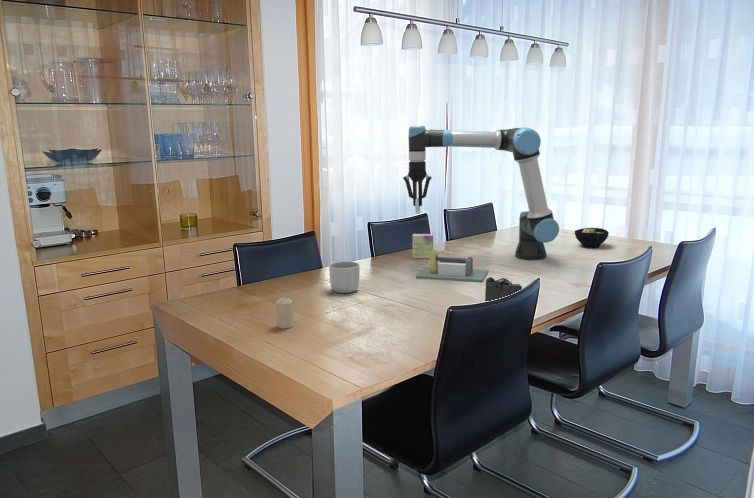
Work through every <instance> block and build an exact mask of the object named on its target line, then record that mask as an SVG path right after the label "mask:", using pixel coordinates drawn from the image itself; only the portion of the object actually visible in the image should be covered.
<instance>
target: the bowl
mask: <svg viewBox="0 0 754 498" xmlns="http://www.w3.org/2000/svg"><path fill="white" fill-rule="evenodd" d="M609 234H610V233H609V231H608V230H607V229H604V228H599V227H584V228H579V229H578V228H577V229H575V230H574V236H575V238H576V240H577V241H578V242H579V243H580V244H581V246H582V247H583V248H587V249H598V248H600V247H601V245H602V244H603V243H604V242H605V241H606V240H607V239H608V237H609Z"/></svg>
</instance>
